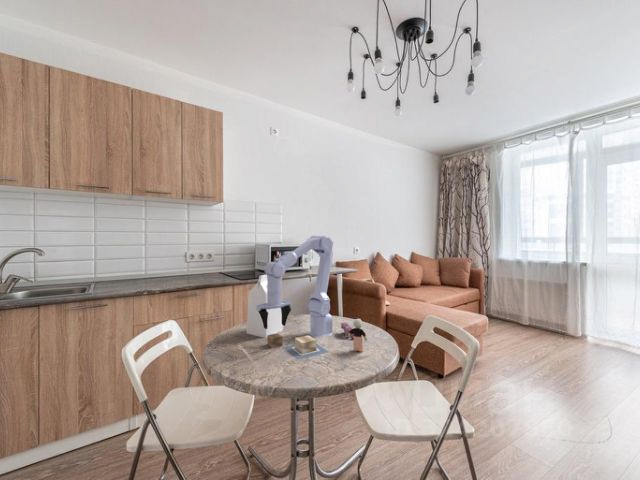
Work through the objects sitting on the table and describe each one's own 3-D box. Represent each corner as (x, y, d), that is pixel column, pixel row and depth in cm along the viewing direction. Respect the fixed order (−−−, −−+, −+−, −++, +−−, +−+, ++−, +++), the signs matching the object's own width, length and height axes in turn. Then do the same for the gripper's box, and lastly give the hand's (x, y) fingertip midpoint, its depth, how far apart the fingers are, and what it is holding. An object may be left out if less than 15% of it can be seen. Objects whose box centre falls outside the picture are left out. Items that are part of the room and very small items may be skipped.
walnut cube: (277, 344, 118) (277, 333, 118) (282, 347, 114) (282, 336, 114) (267, 346, 116) (267, 335, 116) (271, 350, 112) (271, 338, 112)
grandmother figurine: (368, 351, 110) (368, 318, 110) (366, 355, 107) (366, 321, 106) (348, 348, 113) (348, 316, 113) (346, 352, 109) (346, 319, 109)
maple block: (308, 345, 115) (308, 335, 115) (316, 350, 110) (316, 340, 110) (295, 348, 112) (295, 338, 112) (302, 353, 107) (302, 343, 106)
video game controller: (344, 335, 132) (337, 322, 132) (353, 330, 132) (346, 317, 132) (348, 343, 122) (341, 329, 122) (358, 338, 123) (351, 324, 122)
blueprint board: (312, 342, 120) (312, 340, 120) (329, 353, 108) (329, 351, 108) (283, 348, 113) (283, 346, 113) (298, 361, 102) (298, 359, 102)
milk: (264, 326, 141) (264, 272, 140) (283, 330, 135) (283, 274, 134) (246, 333, 130) (246, 275, 130) (266, 337, 125) (265, 277, 124)
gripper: (260, 296, 107) (260, 332, 107) (295, 292, 115) (295, 326, 115) (254, 292, 113) (254, 327, 114) (288, 289, 121) (288, 321, 121)
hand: (274, 326), depth 115 cm, fingers open, 7 cm apart
